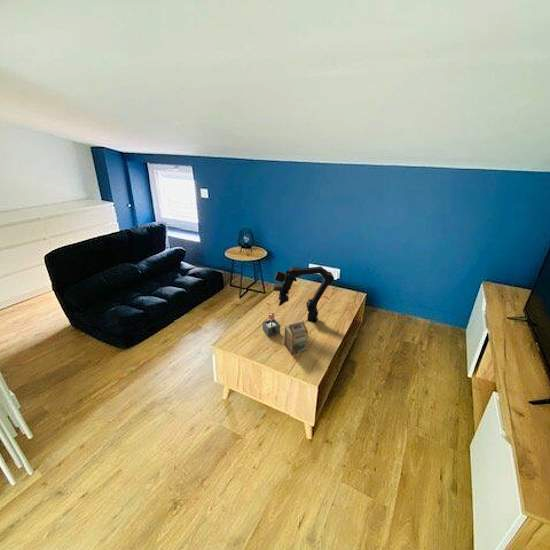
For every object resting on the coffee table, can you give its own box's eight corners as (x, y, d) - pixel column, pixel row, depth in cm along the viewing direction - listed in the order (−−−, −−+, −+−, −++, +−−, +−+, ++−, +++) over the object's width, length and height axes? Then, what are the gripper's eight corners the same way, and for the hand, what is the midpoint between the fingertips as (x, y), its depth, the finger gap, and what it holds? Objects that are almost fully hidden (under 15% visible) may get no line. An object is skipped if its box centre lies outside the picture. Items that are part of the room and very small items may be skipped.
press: (274, 326, 208) (274, 318, 205) (281, 335, 199) (281, 326, 196) (262, 329, 204) (262, 321, 201) (269, 338, 195) (269, 330, 192)
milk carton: (291, 354, 180) (292, 329, 172) (284, 344, 189) (285, 319, 181) (306, 350, 184) (308, 325, 176) (298, 341, 193) (300, 316, 185)
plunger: (273, 321, 204) (273, 310, 201) (277, 326, 199) (278, 315, 195) (264, 324, 202) (264, 313, 198) (269, 329, 196) (269, 317, 193)
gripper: (276, 274, 211) (268, 292, 217) (277, 286, 194) (268, 305, 200) (290, 279, 213) (282, 297, 219) (292, 291, 196) (283, 310, 202)
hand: (279, 302), depth 210 cm, fingers open, 9 cm apart
